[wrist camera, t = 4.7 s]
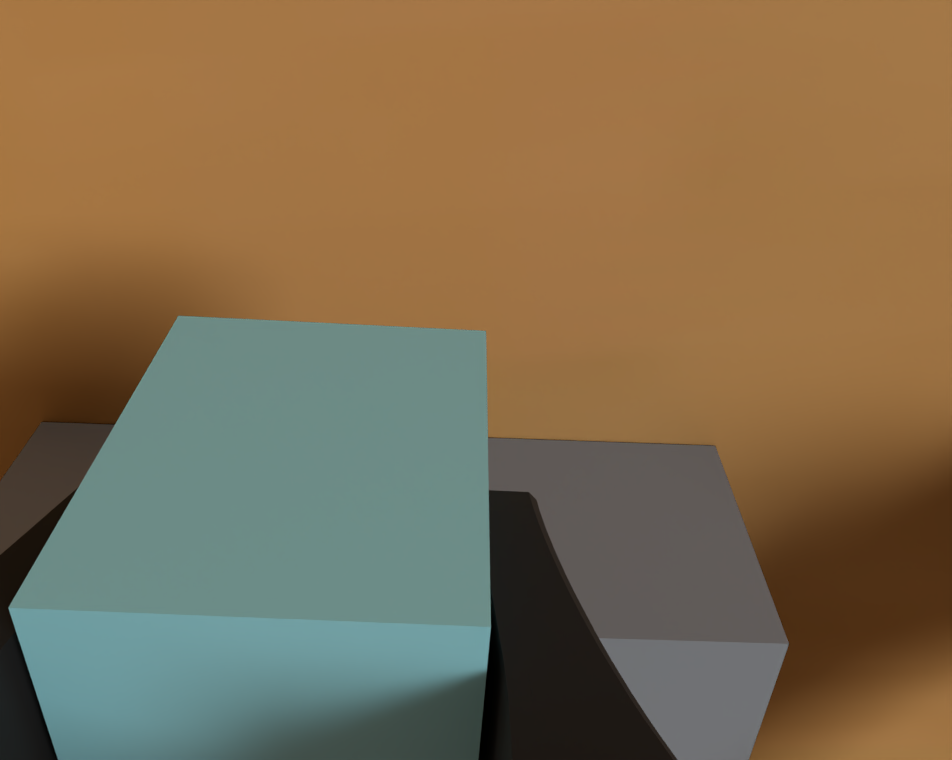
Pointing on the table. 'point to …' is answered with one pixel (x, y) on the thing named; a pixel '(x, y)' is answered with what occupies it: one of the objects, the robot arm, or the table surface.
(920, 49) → the table surface
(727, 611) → the gray slotted box
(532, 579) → the robot arm
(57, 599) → the teal rectangular block
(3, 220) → the table surface
